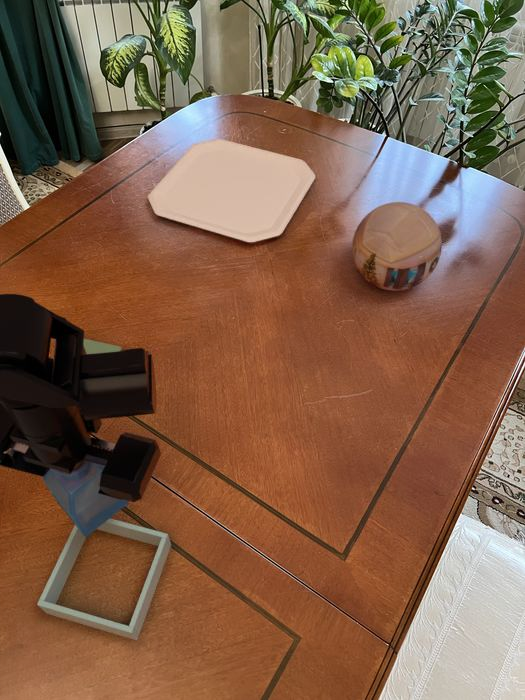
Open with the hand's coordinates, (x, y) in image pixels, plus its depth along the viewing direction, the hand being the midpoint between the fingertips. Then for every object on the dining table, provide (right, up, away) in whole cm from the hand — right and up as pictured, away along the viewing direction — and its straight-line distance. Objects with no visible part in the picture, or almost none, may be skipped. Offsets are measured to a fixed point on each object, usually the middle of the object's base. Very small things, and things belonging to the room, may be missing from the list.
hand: (83, 483), depth 65 cm
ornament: (+43, +28, +40) cm, 65 cm away
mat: (-7, +13, +26) cm, 30 cm away
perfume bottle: (0, -3, +4) cm, 5 cm away
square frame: (+2, -13, +6) cm, 15 cm away
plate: (+14, +48, +54) cm, 73 cm away
